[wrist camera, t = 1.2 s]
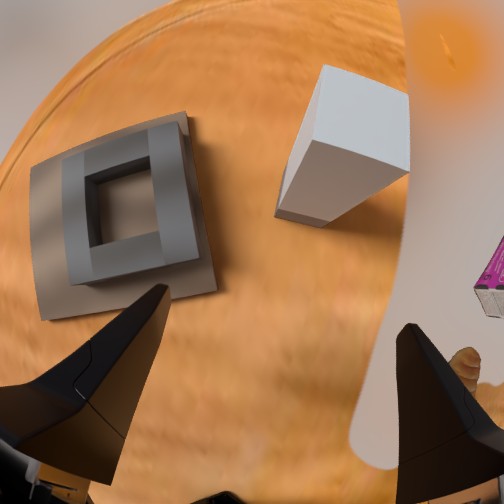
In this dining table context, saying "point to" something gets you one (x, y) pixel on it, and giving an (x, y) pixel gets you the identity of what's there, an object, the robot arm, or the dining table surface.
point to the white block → (344, 148)
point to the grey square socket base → (119, 221)
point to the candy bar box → (492, 285)
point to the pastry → (467, 367)
